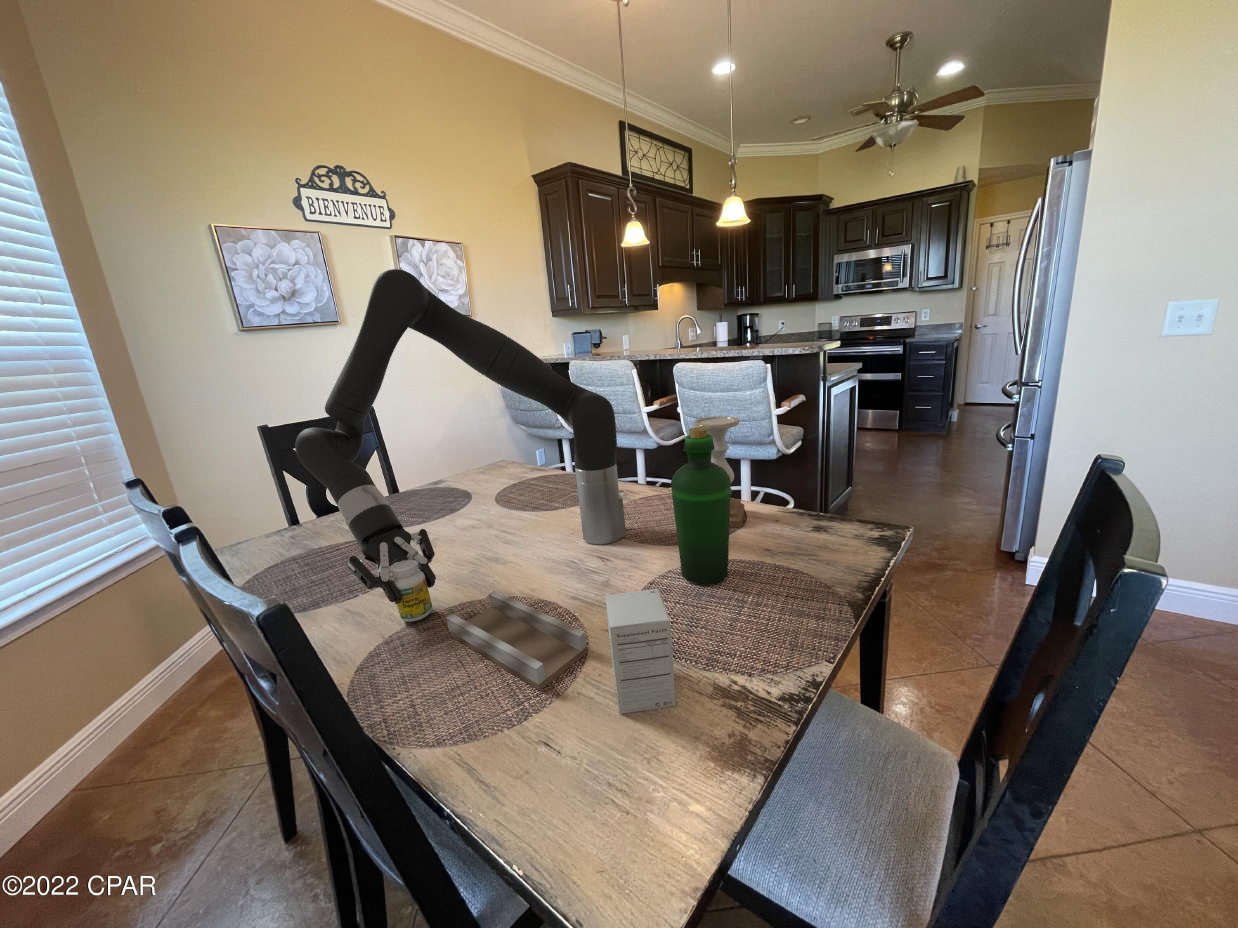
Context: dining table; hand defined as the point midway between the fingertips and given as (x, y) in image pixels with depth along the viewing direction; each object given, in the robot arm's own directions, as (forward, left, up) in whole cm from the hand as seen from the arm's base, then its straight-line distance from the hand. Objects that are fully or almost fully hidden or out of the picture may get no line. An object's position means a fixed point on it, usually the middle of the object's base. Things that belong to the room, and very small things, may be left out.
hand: (416, 592), depth 82 cm
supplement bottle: (+1, -2, -5) cm, 5 cm away
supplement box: (-28, +33, -6) cm, 43 cm away
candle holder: (-67, -11, -6) cm, 68 cm away
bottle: (-50, +11, -6) cm, 51 cm away
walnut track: (-14, +15, -5) cm, 21 cm away
